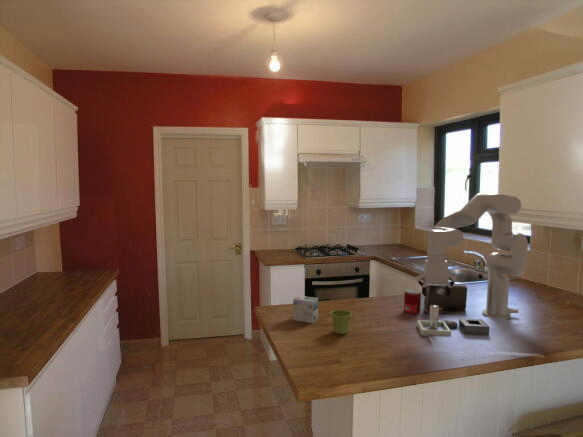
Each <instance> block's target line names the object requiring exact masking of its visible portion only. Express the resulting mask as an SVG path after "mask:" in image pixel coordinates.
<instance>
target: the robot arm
mask: <svg viewBox="0 0 583 437" xmlns="http://www.w3.org/2000/svg"><path fill="white" fill-rule="evenodd" d="M521 202H522V201H521V199H519V197H516V196H515V195H514V196H513V195H508V194H503V193H498V192H497V193H495V192H478V193H477V194H474V196H473V197H471V199H470V200H468V202H467V203H466V204H465V205H464V206H463V207H462V208H461V209H459V211H456V212H453V213H451V214H449V215H447V216H445V217H443V218H441V219H440V220H439V221H438V222H437V223H436V224H435V225H434V226H433V227H432V229H430V230H428V231H427V255H426V256H427V259H425V261H424V265H423V273H421V274H419V275H417V276H415V280H416V281H417V283H418V284H419V286H421V295H423V296H424V297H425V296H426V285H427V284H437V285H446V292H445V294H446V296H447V297H449V294H450V288H451V286H452V285H455V284H456V281H457V279H458V277H456V276H454V275H453V274H451V273H449V265H448V261H447V259H449V258H450V255H449V254H446V252H447V250H446V249H447V248H446V247H447V246H453V247H454V246H459V245H460V244H462V242H463V240H464V234H463V231H461V230H459V229H458V228H463V227H464V228H465V227H468V226H471V225H473V224H474V225H475V224H476V223H477V222H478V220H480V218H481V217H482V216H483V215H484V214H485V213H487V214H489V216H490V218H491V223H492V227H491V229H492V230H491V241H490V242H491V247H492V248H493V249H494V250H498V251H503V252H497V251H496V252H494V251H493V252H492V253H489V254H488V256H487V257H486V262H485V263H486V264H485V265H486V269H487V287H486V288H487V290H486V309H485V308H484V309H483V310H482V314H483V316H485V317H486V318H487V317H488V318H497V319H498V318H499V319H504V320H508V319H511V317H512V314H519V309H516V308H512V307H509V295H510V294H509V292H510V280H509V276H508V275H510V276H516V277H519V276H522V275H524V273H525V271H526V268H527V262H528V260H527V259H528V247H529V246H528V245H529V243H528V239H527V237H526V236H525V235H524V234H523V233H520V232H515V231H514V232H513V220H512V219H513V218H512V216H513V215H517V214H518V213H519V212H520V210H521V209H522V203H521ZM510 215H512V216H510ZM504 252H510V253H511V254H509V253H504ZM421 279H423V282H422V281H421ZM450 279H451V280H450Z"/></svg>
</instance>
